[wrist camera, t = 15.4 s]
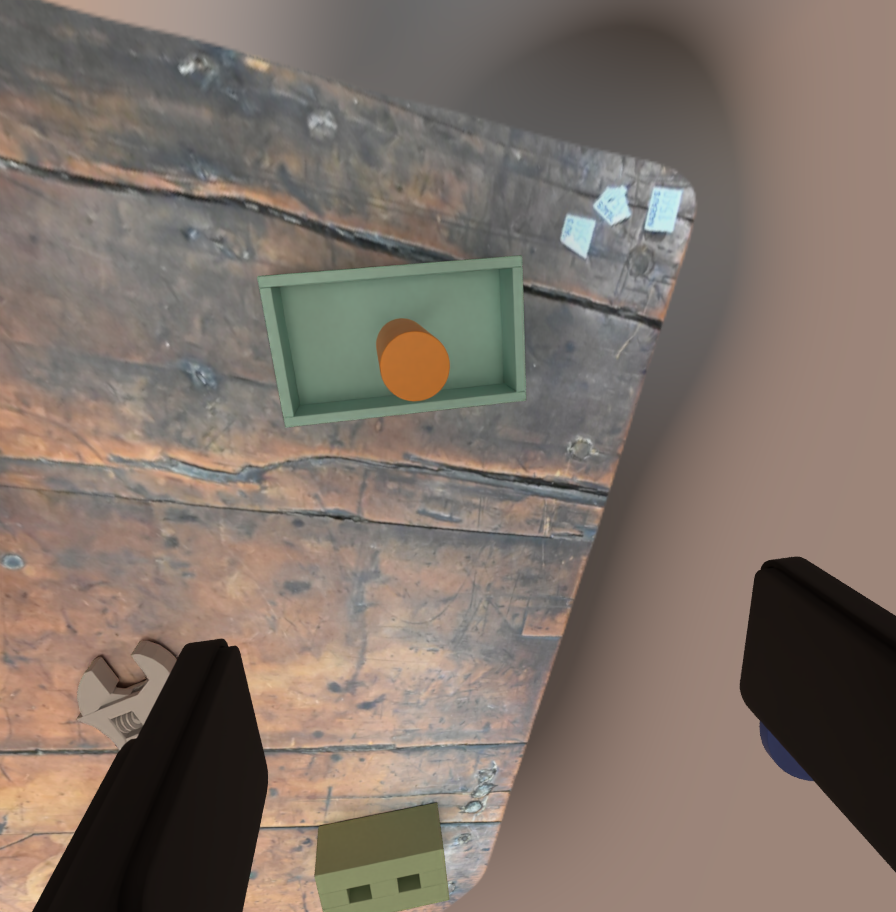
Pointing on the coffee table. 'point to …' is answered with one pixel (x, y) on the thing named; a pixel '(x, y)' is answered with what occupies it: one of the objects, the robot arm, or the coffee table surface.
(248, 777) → the robot arm
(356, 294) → the tray
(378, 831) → the holder
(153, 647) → the adjustable wrench
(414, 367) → the orange handle
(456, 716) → the coffee table surface
